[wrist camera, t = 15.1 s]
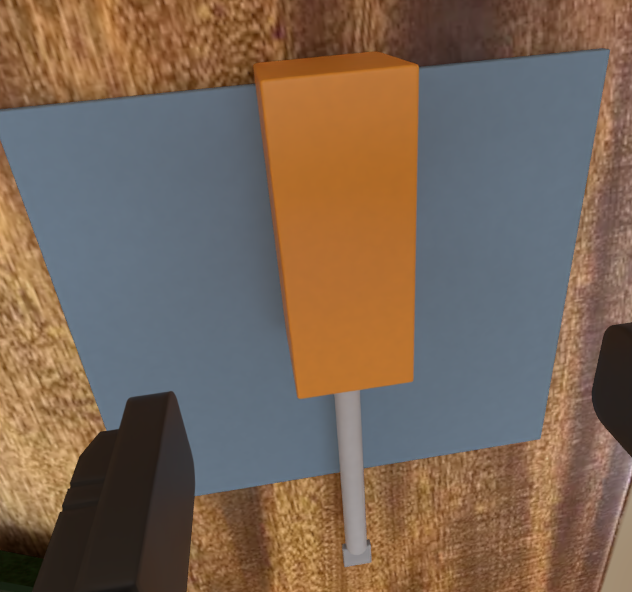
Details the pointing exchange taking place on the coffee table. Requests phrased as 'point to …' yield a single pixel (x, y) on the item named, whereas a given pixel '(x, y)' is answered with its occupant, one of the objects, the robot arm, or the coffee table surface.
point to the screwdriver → (344, 235)
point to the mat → (263, 275)
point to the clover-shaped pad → (18, 572)
